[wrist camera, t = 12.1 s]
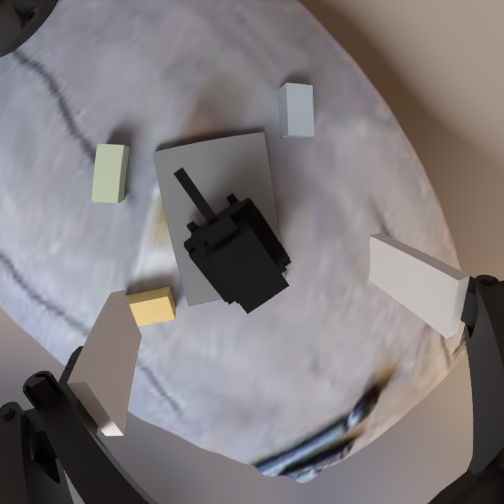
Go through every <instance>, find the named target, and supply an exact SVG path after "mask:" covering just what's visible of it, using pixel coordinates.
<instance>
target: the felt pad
mask: <svg viewBox="0 0 504 504" xmlns="http://www.w3.org/2000/svg"><path fill="white" fill-rule="evenodd" d="M153 155H154V161H155V166H156V172H157V177H158V182H159V187H160V192H161V197H162V202H163V206H164V211H165V215H166V220H167V224H168V229H169V233H170V237H171V241H172V246H173V250H174V254H175V258H176V262H177V265H178V269H179V273H180V277H181V281H182V284H183V288H184V292H185V295H186V299H187V302H188V306H193V305H197V304H202V303H207V302H211V301H216V300H221V299H222V298H221V296H220V295H219V294H218V293H217V291H216V290H215V289H214V288H213V286H212V285H211V284H210V283H209V281H208V280H207V279H206V278H205V276H204V275H203V274H202V272H201V271H200V270H199V269H198V267H197V266H196V265H195V264H194V262H193V261H192V260H191V258H190V257H189V253H188V252H187V250H186V249H185V248H184V241H186V240H187V239H189V238H190V237H191V232H190V231H189V229H188V228H187V227H186V226H187V224H188V223H190V222H191V221H194V222H195V224H196V225H198V226H199V227H200V226H201V225H203V224H204V223H206V222H207V221H206V219H205V218H204V217H203V215H202V214H201V212H200V211H199V209H198V208H197V207H196V205H195V204H194V202H193V201H192V200H191V198H190V197H189V195H188V194H187V193H186V191H185V190H184V188H183V187H182V185H181V184H180V183H179V181H178V180H177V178H176V177H175V175H174V174H173V173H175V172H176V171H178V170H179V169H180V168H182V167H183V168H184V170H185V171H186V173H187V174H188V176H189V177H190V179H191V180H192V181H193V183H194V184H195V186H196V187H197V189H198V190H199V191H200V193H201V194H202V196H203V197H204V199H205V200H206V202H207V203H208V204H209V206H210V207H211V209H212V210H213V212H214V213H215V214H216V215H217V214H219V213H220V212H222V211H223V210H224V209H226V208H227V207H229V206H230V203H229V201H228V200H227V198H226V197H227V196H229V195H230V194H231V193H233V194H234V195H235V196H236V198H237V199H238V201H240V202H242V201H243V200H245V199H246V198H250V199H251V200H252V202H253V203H254V205H255V206H256V207H257V208H258V209H259V211H260V212H261V214H262V215H263V217H264V218H265V220H266V221H267V223H268V224H269V226H270V228H271V229H272V231H273V232H274V234H275V235H276V237H277V239H278V240H279V242H280V234H279V227H278V220H277V213H276V206H275V199H274V192H273V185H272V178H271V172H270V165H269V159H268V153H267V146H266V140H265V134H264V132H260V133H253V134H245V135H239V136H232V137H226V138H220V139H214V140H208V141H203V142H198V143H193V144H188V145H183V146H178V147H173V148H169V149H165V150H160V151H156V152H153ZM280 243H281V242H280ZM282 275H283V277H284V278H285V272H283V273H282Z"/></svg>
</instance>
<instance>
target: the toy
mask: <svg viewBox="0 0 504 504" xmlns="http://www.w3.org/2000/svg"><path fill="white" fill-rule="evenodd" d="M173 174H174V175H175V177H176V178H177V180H178V181H179V183H180V184H181V185H182V187H183V188H184V190H185V191H186V193H187V194H188V195H189V197H190V198H191V200H192V201H193V202H194V204H195V205H196V207H197V208H198V209H199V211H200V212H201V214H202V215H203V217H204V218H205V219H206V221H207V222H206V223H204V224H203V225H201V226H200V227H199V226H198V225H196V224H195V222H194V221H191V222H190V223H188V224H187V226H186V227H187V228H188V229H189V231H190V232H191V237H190V238H189V239H187V240H186V241H184V248H185V249H186V250H187V252H188V253H189V257H190V258H191V260H192V261H193V262H194V264H195V265H196V266H197V267H198V269H199V270H200V271H201V272H202V274H203V275H204V276H205V278H206V279H207V280H208V281H209V283H210V284H211V285H212V286H213V288H214V289H215V290H216V291H217V293H218V294H219V295H220V296H221V298H222V299H223V300H224V301H225V302H228V304H229V305H230V304H231V303H233V302H234V301H236V303H237V304H238V303H239V304H240V305H241V306H242V308H243V309H244V310H245V311H246V313H247V314H248V313H250V312H251V311H253V310H254V309H256V308H257V307H259V306H260V305H262V304H263V303H265V302H266V301H268V300H269V299H271V298H272V297H273V296H275V295H276V294H278V293H279V292H281V291H282V290H284V289H285V288H287V287H288V286H289V284H288V283H287V281H286V280H285V278H284V277H283V275H282V273H283V272H285V271H286V270H287V269H286V267H285V266H287V265H288V264H290V263H291V261H290V258H289V256H288V254H287V253H286V251H285V250H284V248H283V246H282V245H281V243H280V242H279V240H278V239H277V237H276V235H275V234H274V232H273V231H272V229H271V228H270V226H269V224H268V223H267V221H266V220H265V218H264V217H263V215H262V214H261V212H260V211H259V209H258V208H257V207H256V206H255V205H254V203H253V202H252V200H251V199H250V198H246V199H245V200H243V201H242V202H240V201H238V199H237V198H236V196H235V195H234V194H233V193H231V194H230V195H229V196H227V197H226V198H227V200H228V201H229V203H230V206H229V207H227V208H226V209H224V210H223V211H222V212H220V213H219V214H217V215H216V214H215V213H214V212H213V210H212V209H211V207H210V206H209V204H208V203H207V202H206V200H205V199H204V197H203V196H202V194H201V193H200V191H199V190H198V189H197V187H196V186H195V184H194V183H193V181H192V180H191V179H190V177H189V176H188V174H187V173H186V171H185V170H184V168H183V167H182V168H180V169H179V170H178V171H176V172H175V173H173Z"/></svg>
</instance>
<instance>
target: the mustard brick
mask: <svg viewBox="0 0 504 504" xmlns="http://www.w3.org/2000/svg"><path fill="white" fill-rule="evenodd" d="M126 297H127V299H128V302H129V305H130V308H131V310H132V313H133V316H134V318H135V321H136V323H137V326H142V325H148V324H153V323H158V322H164V321H169V320H174V319H175V314H176V306H175V303H174V300H173V296H172V293H171V290H170V286H169V287H164V288H159V289H155V290H150V291H145V292H140V293H135V294H131V295H126Z"/></svg>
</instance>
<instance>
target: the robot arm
mask: <svg viewBox="0 0 504 504" xmlns="http://www.w3.org/2000/svg"><path fill="white" fill-rule="evenodd" d="M56 1H57V0H0V57H2V56H5V55H7V54H9V53H10V52H12V51H13V50H15V49H16V48H18V47H19V46H20V45H21V44H23V43H24V42H25V41H26V40H27V39H28V38H29V37H30V36H31V35H32V34H33V33H34V32H35V31H36V30H37V29H38V28H39V27H40V26H41V24H42V23H43V22H44V21H45V19H46V18H47V17H48V15H49V14H50V12H51V11H52V9H53V7H54V5H55V3H56ZM370 281H371V282H372V283H374V284H375V285H376V286H378V287H379V288H381V289H382V290H383V291H385V292H386V293H387V294H389V295H390V296H391V297H393V298H394V299H396V300H397V301H398V302H400V303H401V304H402V305H404V306H405V307H406V308H408V309H409V310H410V311H412V312H413V313H414V314H416V315H417V316H418V317H419V318H421V319H422V320H423V321H425V322H426V323H427V324H429V325H430V326H431V327H432V328H434V329H435V330H436V331H438V332H439V333H440V334H441V335H443V336H444V337H445V338H446V339H447V338H449V337H451V336H452V335H454V334H456V333H457V332H458V329H459V325H460V321H463V322H464V323H465V327H464V331H463V335H462V338H461V342H460V345H462V344H463V341H464V340H465V341H466V343H465V345H466V347H467V353H468V360H469V367H470V377H471V386H472V401H473V456H472V460H471V462H470V465H469V467H468V469H467V472H465V473H464V474H463V475H462V476H460V477H459V478H458V479H457V480H455V481H454V482H453V483H451V484H450V485H449V486H447V487H446V488H445V489H443V490H442V491H441V492H440V493H439V494H437V496H435V497H434V498H433V499H432V500H431V501H430V502H429V503H428V504H504V281H499V280H498V279H496V278H495V277H493V276H490V275H479V276H477V277H476V278H473V277H471V276H469V275H467V274H465V273H463V272H461V271H460V270H458V269H456V268H454V267H452V266H450V265H448V264H446V263H444V262H442V261H440V260H437V259H435V258H433V257H431V256H429V255H427V254H425V253H423V252H421V251H419V250H417V249H414V248H412V247H410V246H408V245H406V244H404V243H401V242H399V241H397V240H395V239H392V238H390V237H388V236H386V235H383V234H381V233H379V234H375V235H371V236H370ZM141 337H142V336H141V333H140V331H139V328H138V326H137V323H136V321H135V318H134V316H133V313H132V310H131V308H130V305H129V302H128V299H127V297H126V294H125V291H124V290H123V291H118V292H113V293H111V294H110V295H109V297H108V299H107V301H106V303H105V305H104V307H103V308H102V310H101V312H100V314H99V316H98V318H97V320H96V322H95V324H94V326H93V328H92V330H91V332H90V334H89V336H88V338H87V340H86V342H85V344H84V346H79V347H78V348H77V349H76V350H75V351H74V352H73V353H72V355H71V357H70V359H69V361H68V364H67V365H66V367H65V370H64V371H63V373H62V376H61V378H60V380H59V382H57V381H56V379H55V378H54V376H53V375H52V374H51V373H50V372H49V371H40V372H37V373H35V374H33V375H32V376H31V377H29V378H28V379H27V381H26V382H25V383H24V386H23V392H24V394H25V395H26V397H27V398H28V399H29V401H30V402H31V404H32V405H33V406H34V407H35V408H34V409H29V410H26V411H24V410H23V409H22V408H21V406H20V405H19V404H18V403H17V402H9V403H7V404H4V405H3V406H2V407H1V408H0V504H74V503H73V500H72V497H71V494H70V491H69V487H68V484H67V480H66V477H65V473H64V470H65V472H66V474H67V475H68V477H69V479H70V480H71V482H72V484H73V486H74V487H75V489H76V490H77V492H78V494H79V495H80V497H81V498H82V500H83V501H84V503H85V504H157V502H155V501H154V500H153V499H152V498H151V497H150V496H149V495H148V494H147V493H146V492H145V491H144V490H143V489H142V488H141V487H140V486H139V485H138V484H137V482H136V481H135V480H134V479H133V478H132V477H131V476H130V475H129V474H128V473H127V472H126V470H125V469H124V468H123V467H122V466H121V465H120V463H119V462H118V461H117V460H116V459H115V457H114V456H113V455H112V454H111V453H110V451H109V450H108V449H107V447H106V446H105V445H104V444H103V442H102V441H101V440H100V438H99V437H98V436H97V435H96V434H97V429H98V427H99V428H100V429H101V431H102V432H103V433H104V434H105V436H120V435H124V429H125V422H126V416H127V409H128V403H129V397H130V391H131V386H132V380H133V375H134V370H135V365H136V360H137V355H138V350H139V346H140V341H141ZM63 468H64V469H63Z"/></svg>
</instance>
